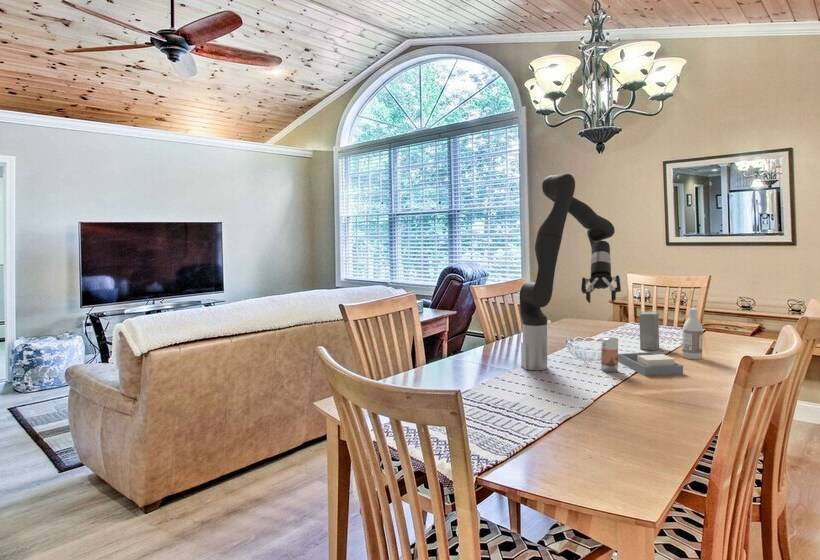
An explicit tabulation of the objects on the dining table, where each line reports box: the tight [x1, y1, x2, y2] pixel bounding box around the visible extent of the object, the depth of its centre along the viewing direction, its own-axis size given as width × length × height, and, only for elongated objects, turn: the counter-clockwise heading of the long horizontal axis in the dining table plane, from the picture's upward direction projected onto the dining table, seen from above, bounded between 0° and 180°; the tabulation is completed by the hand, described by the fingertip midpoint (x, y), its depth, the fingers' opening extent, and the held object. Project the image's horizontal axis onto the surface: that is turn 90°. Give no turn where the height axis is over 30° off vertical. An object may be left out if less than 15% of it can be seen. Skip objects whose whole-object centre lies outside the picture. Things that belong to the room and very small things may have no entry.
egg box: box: [637, 353, 675, 367], centre depth 184 cm, size 10×7×5 cm
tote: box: [618, 351, 684, 377], centre depth 188 cm, size 14×20×4 cm
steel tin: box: [600, 336, 619, 374], centre depth 185 cm, size 6×6×13 cm
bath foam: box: [681, 307, 704, 361], centre depth 203 cm, size 7×7×20 cm
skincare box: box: [638, 311, 660, 351], centre depth 221 cm, size 8×7×16 cm
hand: (600, 301), depth 194 cm, fingers open, 8 cm apart
